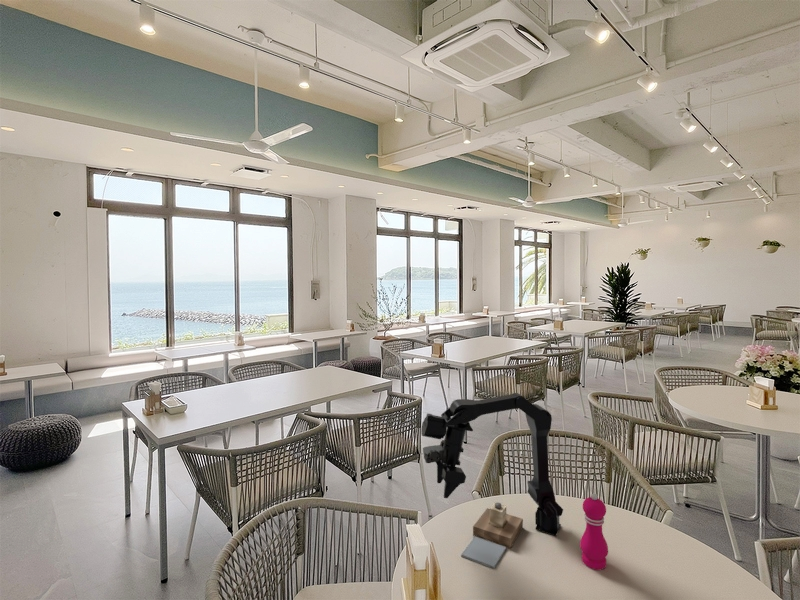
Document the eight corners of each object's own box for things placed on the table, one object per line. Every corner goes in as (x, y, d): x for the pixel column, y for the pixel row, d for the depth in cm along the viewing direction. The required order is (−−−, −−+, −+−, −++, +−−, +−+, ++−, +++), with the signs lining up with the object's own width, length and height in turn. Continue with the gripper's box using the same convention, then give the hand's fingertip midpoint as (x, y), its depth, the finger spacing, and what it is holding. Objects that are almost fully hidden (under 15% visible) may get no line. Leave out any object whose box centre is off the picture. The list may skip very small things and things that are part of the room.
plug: (506, 530, 136) (506, 503, 136) (502, 536, 133) (502, 509, 132) (494, 526, 138) (494, 499, 138) (489, 532, 135) (489, 505, 134)
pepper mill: (602, 554, 124) (603, 487, 122) (612, 571, 116) (613, 500, 115) (576, 553, 124) (576, 486, 123) (584, 570, 117) (585, 499, 116)
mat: (506, 548, 127) (506, 546, 127) (494, 568, 119) (494, 566, 119) (474, 538, 132) (474, 536, 132) (461, 556, 124) (461, 554, 124)
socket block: (522, 527, 137) (522, 518, 137) (510, 548, 127) (510, 538, 127) (487, 516, 144) (487, 508, 144) (473, 535, 134) (473, 526, 134)
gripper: (423, 426, 139) (412, 472, 140) (434, 449, 121) (422, 502, 121) (455, 432, 141) (444, 477, 141) (471, 455, 122) (459, 508, 123)
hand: (441, 490), depth 132 cm, fingers open, 9 cm apart
